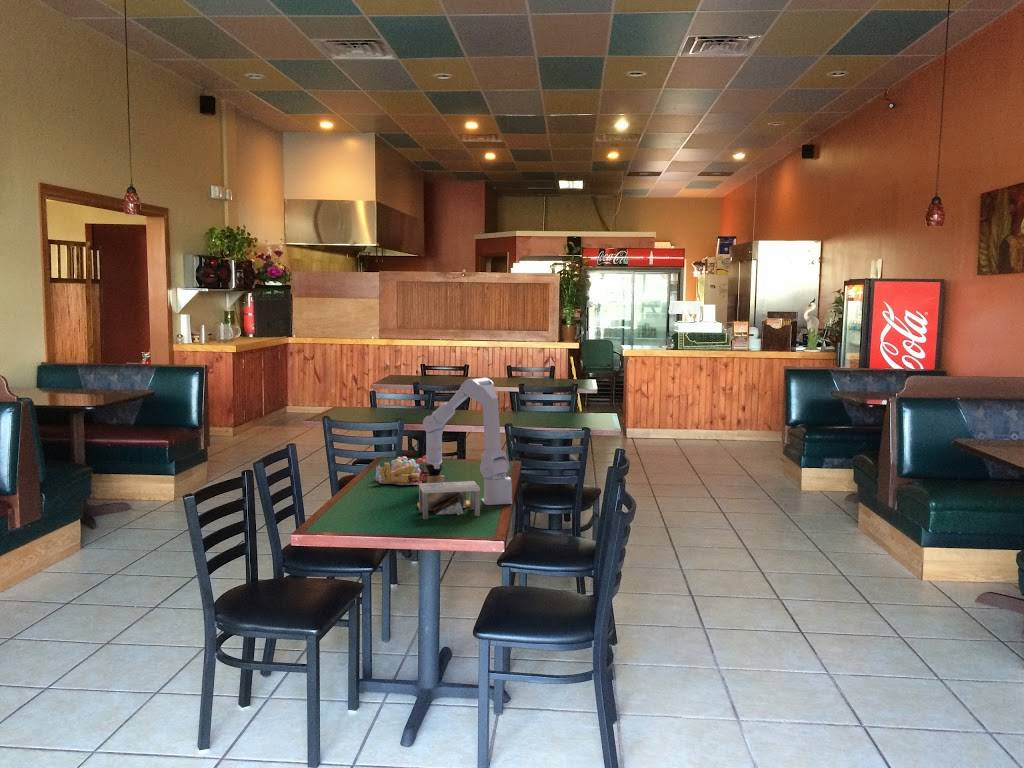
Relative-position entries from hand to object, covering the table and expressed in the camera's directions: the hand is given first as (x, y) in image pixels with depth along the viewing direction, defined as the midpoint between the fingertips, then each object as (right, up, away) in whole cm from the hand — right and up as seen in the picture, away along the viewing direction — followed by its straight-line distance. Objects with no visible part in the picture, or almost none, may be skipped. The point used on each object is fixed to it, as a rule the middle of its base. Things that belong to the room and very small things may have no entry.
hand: (434, 484), depth 300 cm
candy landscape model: (-13, -1, +19) cm, 23 cm away
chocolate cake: (+8, -6, -31) cm, 32 cm away
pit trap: (+6, -5, -23) cm, 24 cm away
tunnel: (+8, -6, -32) cm, 34 cm away
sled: (+4, -3, -16) cm, 16 cm away
